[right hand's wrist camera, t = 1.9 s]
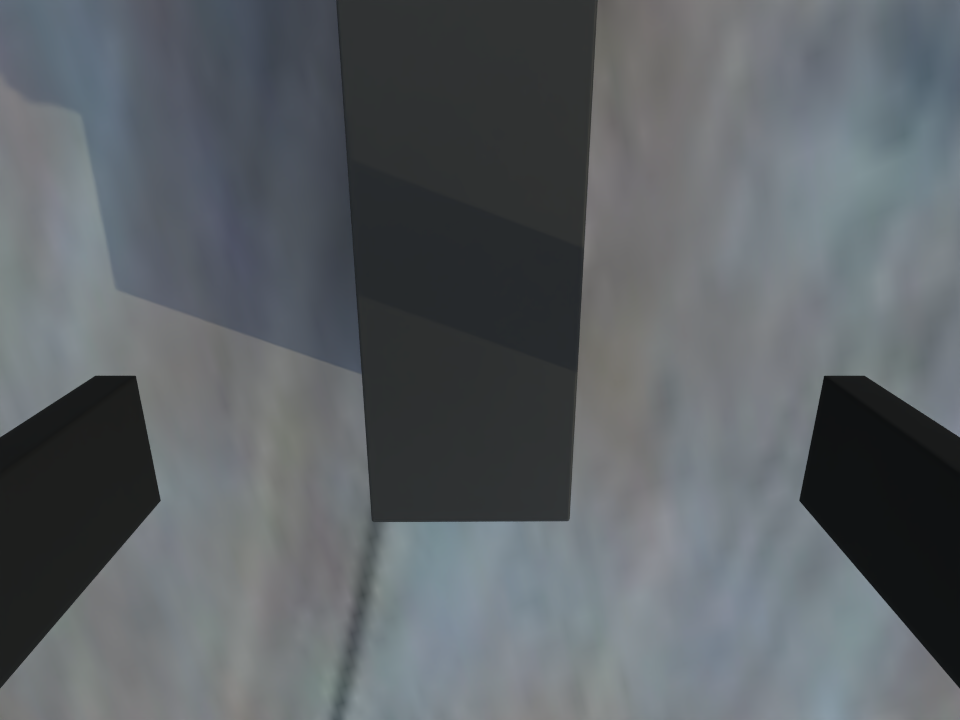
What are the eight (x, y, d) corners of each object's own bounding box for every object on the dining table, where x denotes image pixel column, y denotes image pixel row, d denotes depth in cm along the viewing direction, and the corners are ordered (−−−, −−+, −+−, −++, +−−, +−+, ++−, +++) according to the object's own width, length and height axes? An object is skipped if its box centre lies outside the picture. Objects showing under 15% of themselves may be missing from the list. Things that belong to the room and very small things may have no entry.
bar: (538, 390, 25) (569, 522, 17) (406, 391, 25) (371, 523, 17) (564, -419, 17) (649, -954, 9) (371, -420, 17) (269, -956, 9)
